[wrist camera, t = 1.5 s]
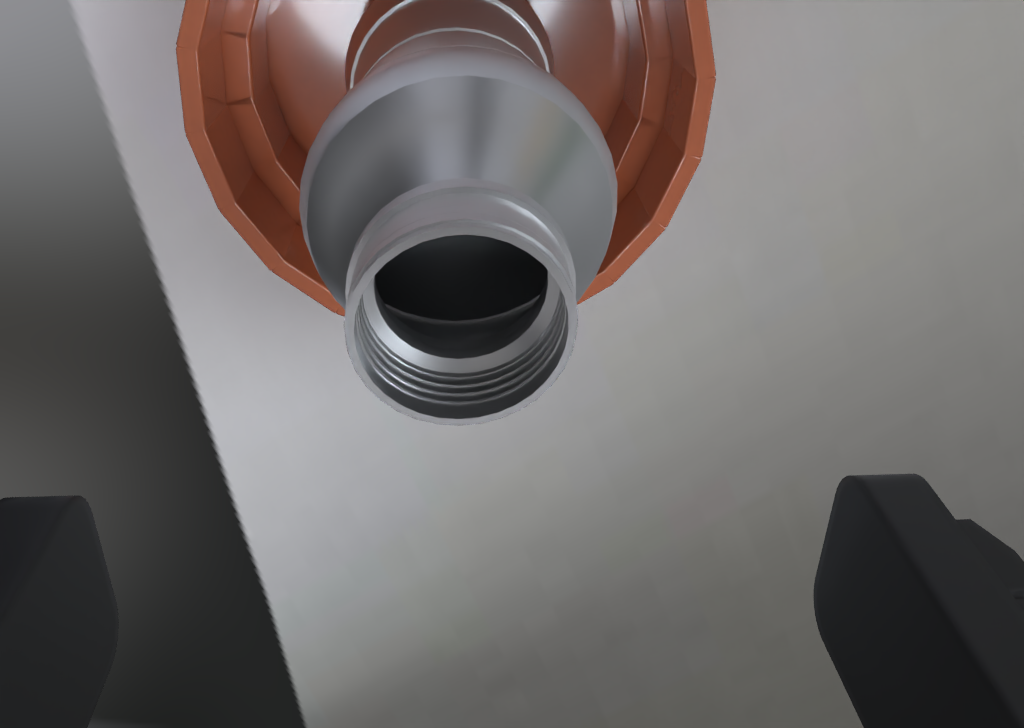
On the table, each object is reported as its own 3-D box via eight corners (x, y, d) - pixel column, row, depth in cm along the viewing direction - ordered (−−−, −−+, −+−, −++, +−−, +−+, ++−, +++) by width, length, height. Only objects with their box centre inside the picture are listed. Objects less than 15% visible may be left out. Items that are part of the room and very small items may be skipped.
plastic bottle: (319, 2, 30) (158, 225, 13) (511, -74, 30) (607, 55, 12) (396, 178, 34) (348, 543, 16) (571, 113, 33) (715, 424, 16)
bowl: (148, -121, 29) (77, -110, 23) (622, -261, 28) (668, -284, 22) (317, 300, 36) (295, 385, 31) (694, 202, 35) (742, 272, 30)
